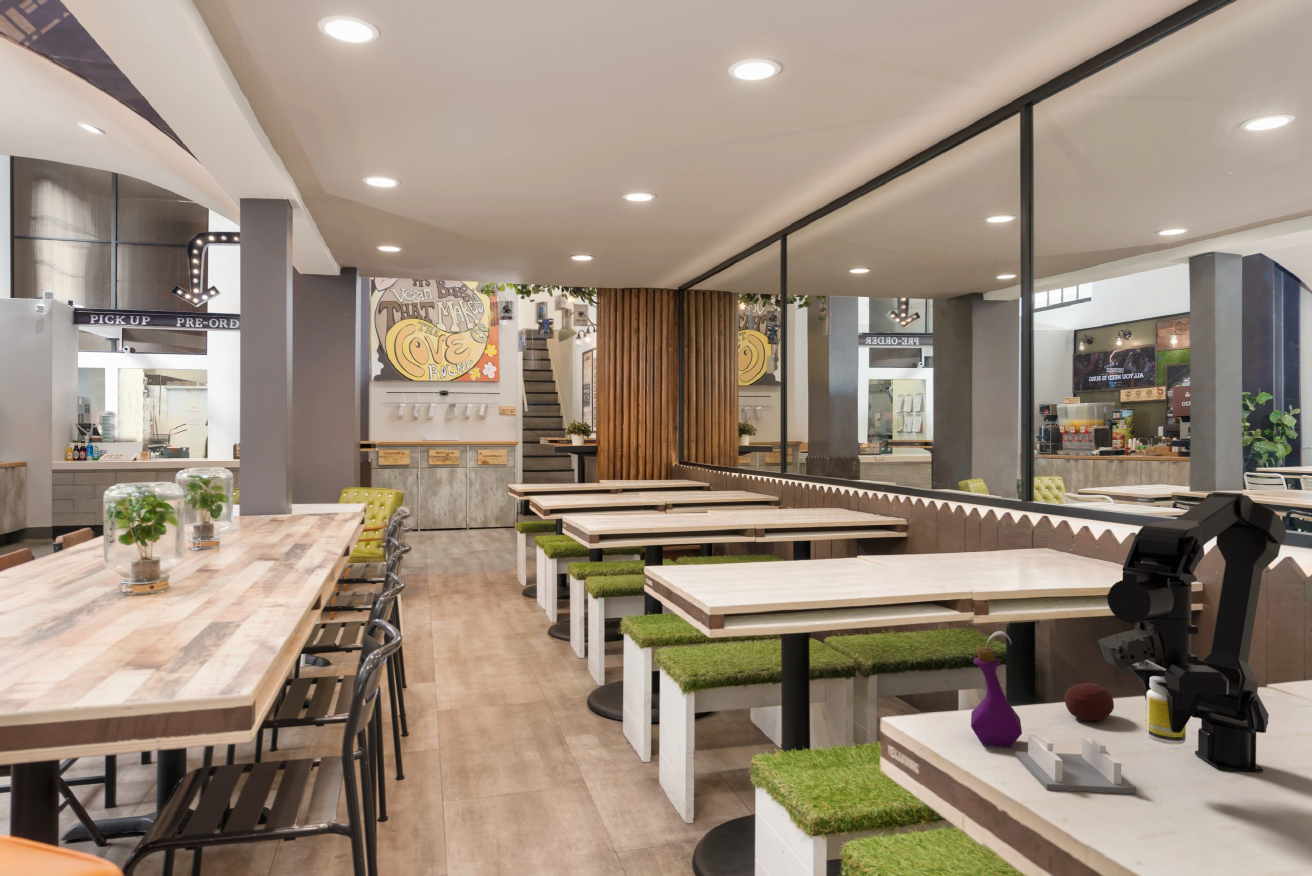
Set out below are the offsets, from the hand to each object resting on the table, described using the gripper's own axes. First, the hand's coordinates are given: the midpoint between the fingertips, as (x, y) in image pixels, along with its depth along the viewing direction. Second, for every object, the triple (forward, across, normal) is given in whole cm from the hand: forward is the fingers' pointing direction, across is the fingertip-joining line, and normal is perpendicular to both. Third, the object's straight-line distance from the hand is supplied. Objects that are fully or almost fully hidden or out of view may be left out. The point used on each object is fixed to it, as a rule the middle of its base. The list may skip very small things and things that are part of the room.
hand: (1165, 725), depth 114 cm
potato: (+9, -30, +3) cm, 32 cm away
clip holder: (+9, -4, -11) cm, 15 cm away
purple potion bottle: (+9, -16, -18) cm, 26 cm away
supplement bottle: (+2, 0, 0) cm, 2 cm away
